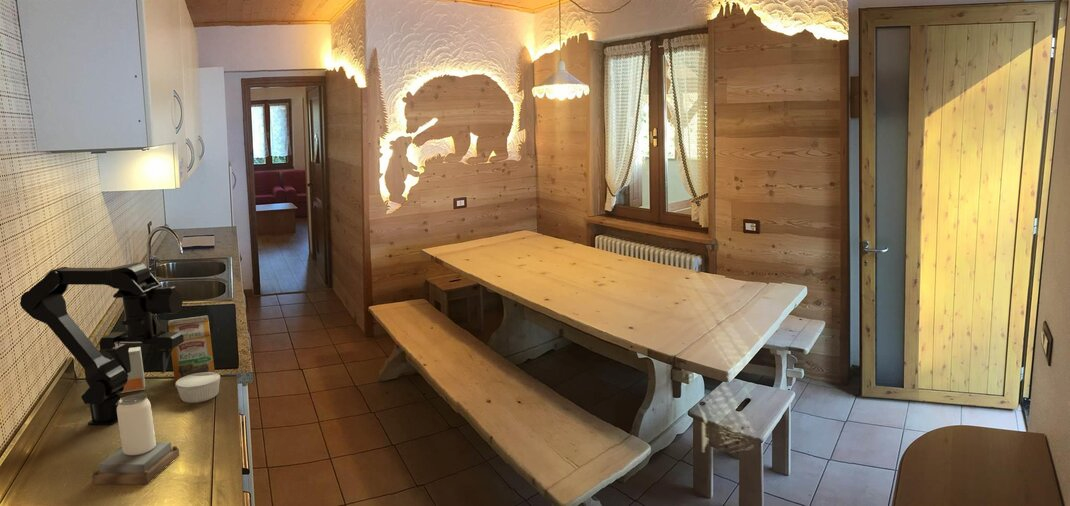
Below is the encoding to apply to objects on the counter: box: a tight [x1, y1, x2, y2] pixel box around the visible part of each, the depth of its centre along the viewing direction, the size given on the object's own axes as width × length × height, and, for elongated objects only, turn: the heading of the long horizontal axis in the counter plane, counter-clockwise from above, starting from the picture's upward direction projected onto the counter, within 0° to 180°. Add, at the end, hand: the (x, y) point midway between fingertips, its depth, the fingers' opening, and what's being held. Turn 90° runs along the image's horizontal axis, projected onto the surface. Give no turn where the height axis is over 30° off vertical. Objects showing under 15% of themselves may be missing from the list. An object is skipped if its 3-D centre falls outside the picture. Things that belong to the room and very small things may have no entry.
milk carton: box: [167, 315, 216, 387], centre depth 200 cm, size 11×11×19 cm
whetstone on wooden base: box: [91, 441, 180, 485], centre depth 149 cm, size 12×12×4 cm
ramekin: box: [175, 372, 221, 404], centre depth 188 cm, size 11×11×5 cm
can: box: [117, 393, 157, 456], centre depth 149 cm, size 6×6×12 cm
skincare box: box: [120, 346, 146, 394], centre depth 193 cm, size 6×4×12 cm
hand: (146, 372), depth 171 cm, fingers open, 9 cm apart
